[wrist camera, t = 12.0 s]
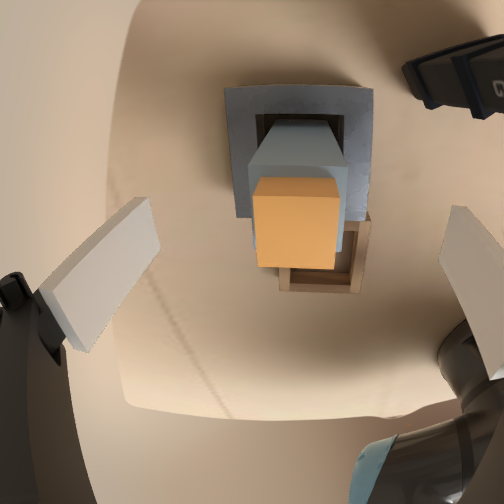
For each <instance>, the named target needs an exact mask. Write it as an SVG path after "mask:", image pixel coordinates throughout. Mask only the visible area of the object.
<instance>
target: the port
mask: <svg viewBox="0 0 504 504" xmlns="http://www.w3.org/2000/svg"><path fill="white" fill-rule="evenodd" d="M224 94H225V105H226V116H227V126H228V137H229V147H230V157H231V167H232V177H233V187H234V197H235V207H236V216H237V218H252V214H251V202H250V189H249V176H248V164H249V163H250V161H251V159H252V158H253V156H254V154H255V153H256V151H257V150H258V148H259V147H260V145H261V143H262V142H263V140H264V139H265V132H264V116H263V114H289V113H298V114H336V115H338V146H339V148H340V150H341V152H342V155H343V157H344V159H345V161H346V164H347V166H348V176H347V193H346V206H345V219H344V220H347V221H365V218H366V210H367V200H368V191H369V179H370V167H371V152H372V132H373V89H371V88H366V87H359V86H346V85H326V84H269V85H250V86H236V87H230V88H225V89H224Z"/></svg>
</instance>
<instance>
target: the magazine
mask: <svg viewBox="0 0 504 504" xmlns="http://www.w3.org/2000/svg"><path fill="white" fill-rule="evenodd" d="M402 70H403V72H404V74H405V76H406V78H407V81H408V83H409V85H410V87H411V89H412V91H413V94H414V96H415V98H416V99H419V100H423V102H424V105H425V107H426V109H430V110H433V109H435V108H438V107H440V106H442V105H447V106H453V107H461V108H469V109H470V111H471V114H472V117H473V118H476V119H482V120H485V119H486V118H488V117H489V116H491V115H492V114H494V113H495V112H498V113H504V34H499V35H495V36H491V37H486V38H482V39H479V40H475V41H471V42H467V43H464V44H460V45H457V46H454V47H450V48H447V49H444V50H441V51H438V52H435V53H431V54H429V55H426V56H423V57H420V58H417V59H414V60H411V61H409V62H406V65H404V66H403V67H402Z"/></svg>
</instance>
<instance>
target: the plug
mask: <svg viewBox="0 0 504 504" xmlns="http://www.w3.org/2000/svg"><path fill="white" fill-rule="evenodd" d="M248 176H249V189H250V202H251V214H252V227H253V240H254V249H257V263H258V266H259V267H283V268H309V269H334V263H335V254H336V252H341V249H342V240H343V230H344V219H345V206H346V193H347V176H348V166H347V164H346V161H345V159H344V157H343V155H342V152H341V150H340V148H339V146H338V143H337V141H336V139H335V137H334V135H333V133H332V131H331V129H330V126H329V124H328V122H327V120H302V119H283V120H276V121H275V123H274V125H273V126H272V128H271V129H270V131H269V132H268V134H267V135H266V137H265V139H264V140H263V142H262V143H261V145H260V147H259V148H258V150H257V151H256V153H255V154H254V156H253V158H252V159H251V161H250V163H249V164H248Z"/></svg>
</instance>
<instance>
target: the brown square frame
mask: <svg viewBox="0 0 504 504" xmlns="http://www.w3.org/2000/svg"><path fill="white" fill-rule="evenodd" d="M370 227H371V219H370V217H369V214H368V211H366V218H365V221H347V220H344V230H343V231H355V232H354V240H353V248H352V255H351V263H350V269H349V273H336V272H308V271H291V268H283V267H279V291H298V292H324V293H359V292H360V287H361V282H362V276H363V271H364V265H365V260H366V254H367V247H368V241H369V234H370Z"/></svg>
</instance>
